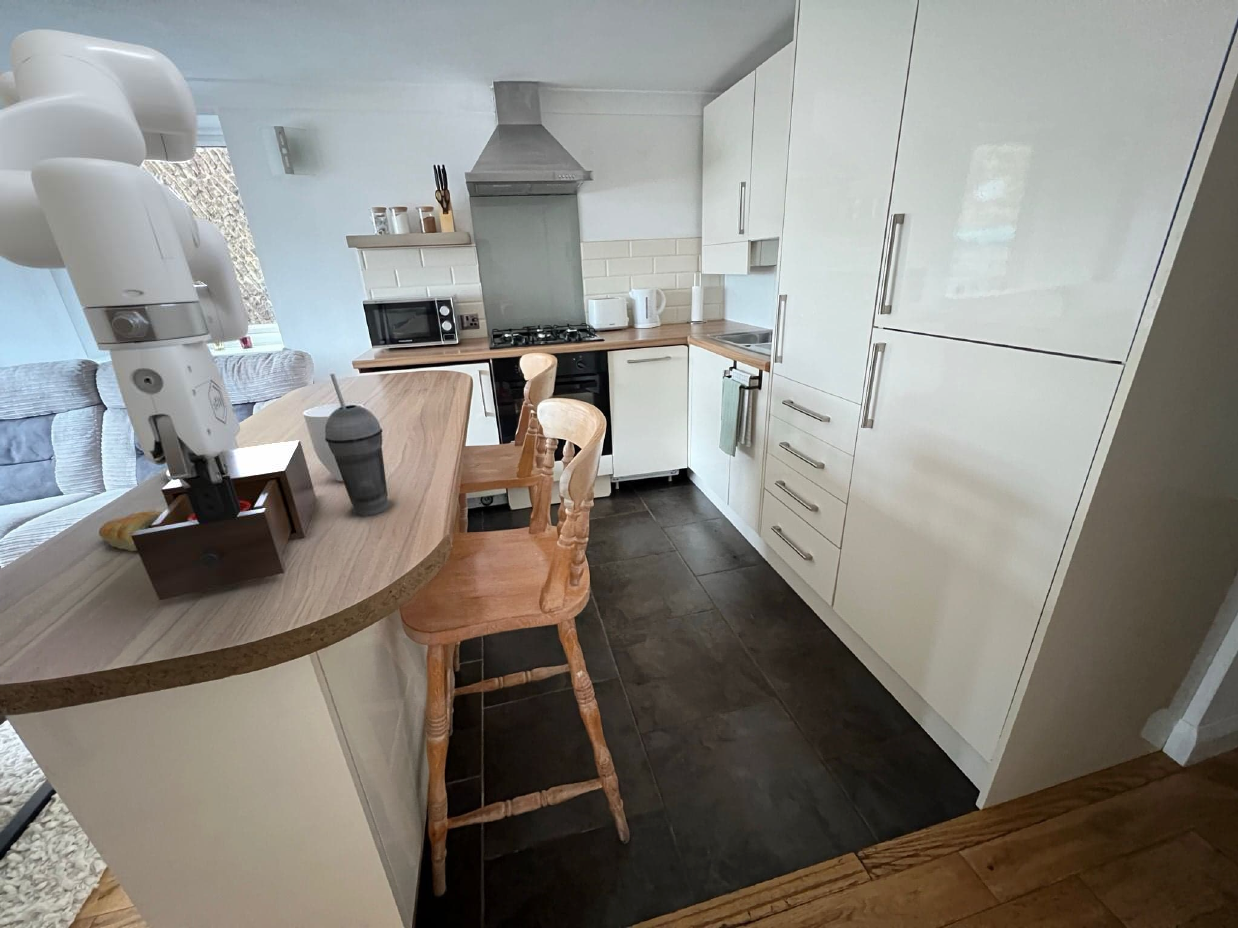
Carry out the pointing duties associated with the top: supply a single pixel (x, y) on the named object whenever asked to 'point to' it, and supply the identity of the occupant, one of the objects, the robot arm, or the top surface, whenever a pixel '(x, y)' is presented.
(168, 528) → the drawer
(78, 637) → the top surface
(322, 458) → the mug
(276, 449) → the cabinet
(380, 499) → the beverage cup
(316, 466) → the top surface
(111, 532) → the pastry
